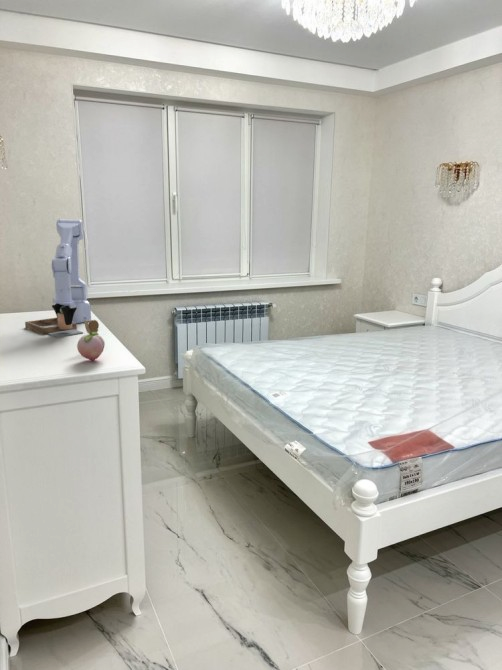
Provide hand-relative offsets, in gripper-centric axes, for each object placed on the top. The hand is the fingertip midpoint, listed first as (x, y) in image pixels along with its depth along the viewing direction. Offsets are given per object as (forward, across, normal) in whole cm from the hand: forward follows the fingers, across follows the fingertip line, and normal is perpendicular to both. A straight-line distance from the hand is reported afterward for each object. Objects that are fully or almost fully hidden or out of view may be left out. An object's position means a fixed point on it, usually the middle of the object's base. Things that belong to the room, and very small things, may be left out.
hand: (65, 323), depth 196 cm
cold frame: (+4, -12, 0) cm, 13 cm away
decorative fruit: (+4, +40, -12) cm, 41 cm away
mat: (+4, 0, 0) cm, 4 cm away
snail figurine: (+4, +26, -4) cm, 27 cm away
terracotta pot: (+2, 0, 0) cm, 2 cm away
